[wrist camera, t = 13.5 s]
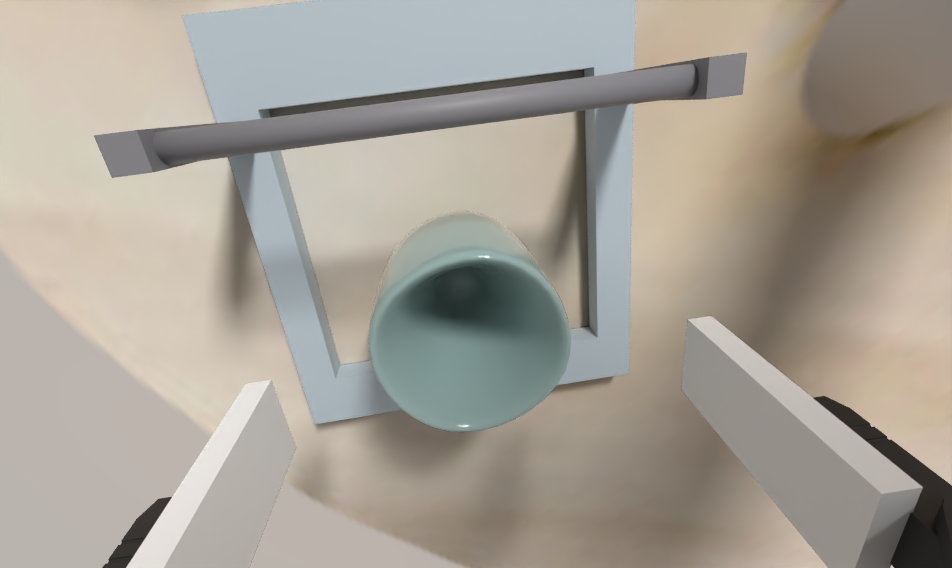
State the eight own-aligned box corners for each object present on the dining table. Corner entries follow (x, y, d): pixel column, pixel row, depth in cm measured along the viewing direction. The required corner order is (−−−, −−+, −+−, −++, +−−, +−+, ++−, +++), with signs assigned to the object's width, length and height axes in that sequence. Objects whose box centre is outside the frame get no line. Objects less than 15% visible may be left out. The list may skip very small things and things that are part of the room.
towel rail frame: (198, 21, 20) (5, -49, 11) (622, -28, 21) (773, -131, 12) (320, 408, 29) (269, 553, 19) (619, 361, 30) (705, 476, 20)
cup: (431, 343, 28) (433, 462, 18) (363, 238, 25) (324, 318, 16) (542, 286, 27) (602, 380, 18) (485, 171, 24) (521, 213, 15)
